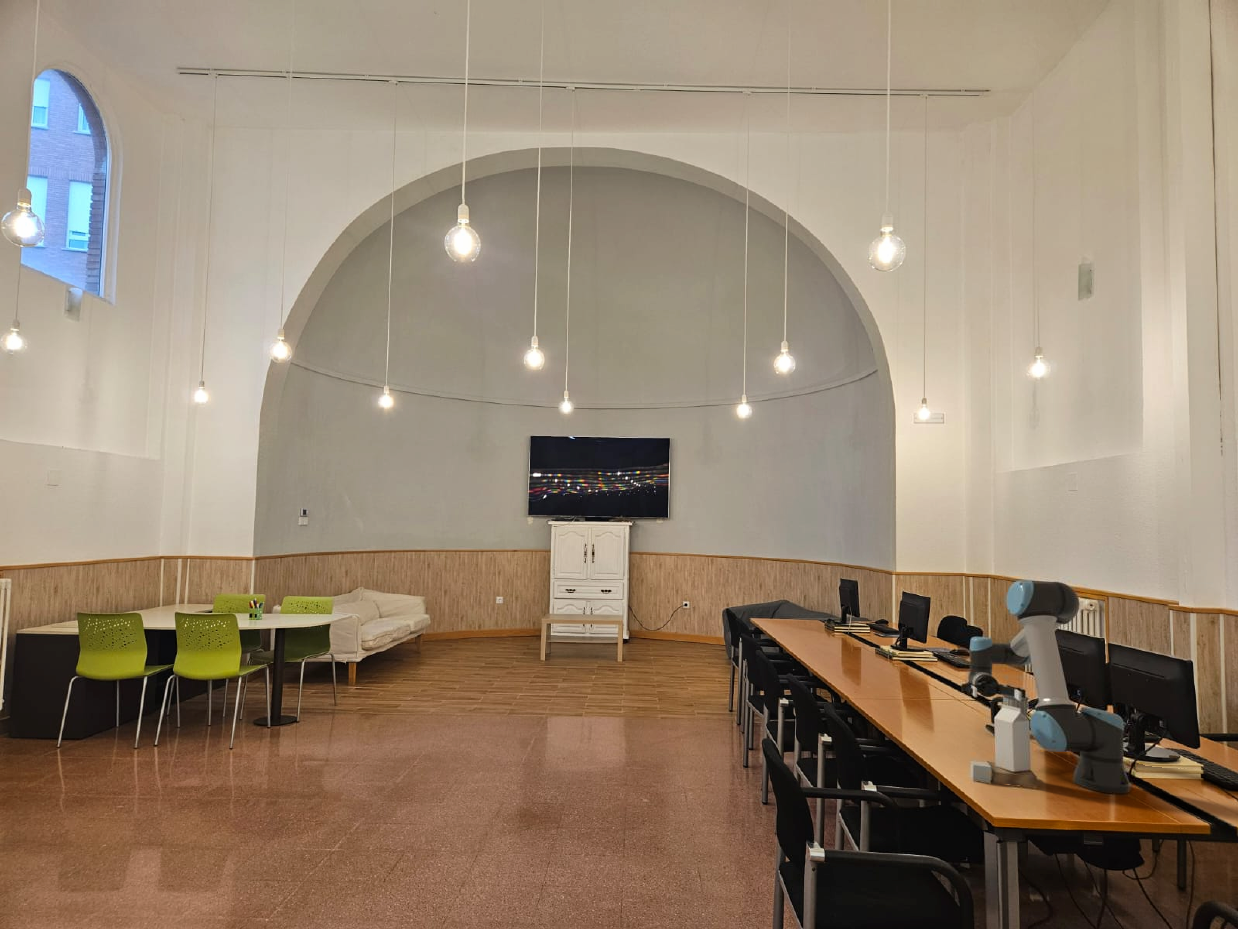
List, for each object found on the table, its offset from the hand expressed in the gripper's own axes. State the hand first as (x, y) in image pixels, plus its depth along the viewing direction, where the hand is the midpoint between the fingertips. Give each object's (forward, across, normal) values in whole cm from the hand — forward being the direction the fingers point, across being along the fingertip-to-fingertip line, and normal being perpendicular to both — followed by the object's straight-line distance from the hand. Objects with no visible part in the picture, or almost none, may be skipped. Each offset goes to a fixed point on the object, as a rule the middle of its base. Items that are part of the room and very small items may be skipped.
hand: (997, 694), depth 274 cm
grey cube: (+17, +8, -24) cm, 31 cm away
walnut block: (+13, -2, -24) cm, 28 cm away
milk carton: (+14, -2, -20) cm, 25 cm away
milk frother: (-51, -13, -23) cm, 57 cm away
